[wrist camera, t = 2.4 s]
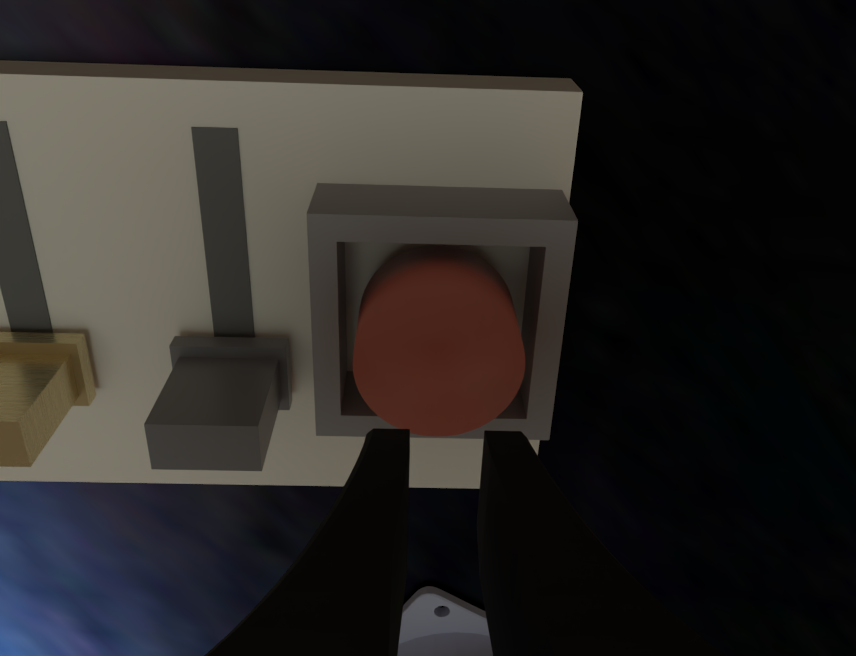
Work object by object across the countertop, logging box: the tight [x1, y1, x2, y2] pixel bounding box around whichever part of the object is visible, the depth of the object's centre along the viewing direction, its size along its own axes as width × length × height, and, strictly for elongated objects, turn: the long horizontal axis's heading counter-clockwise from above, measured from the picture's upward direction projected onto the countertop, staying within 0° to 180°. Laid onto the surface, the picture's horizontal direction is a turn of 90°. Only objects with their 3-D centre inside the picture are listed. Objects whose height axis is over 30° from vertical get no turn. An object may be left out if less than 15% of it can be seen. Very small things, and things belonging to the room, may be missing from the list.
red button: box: [353, 246, 525, 437], centre depth 17 cm, size 4×4×2 cm
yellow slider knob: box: [0, 332, 96, 467], centre depth 18 cm, size 3×2×3 cm, turn 88°
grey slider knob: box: [144, 336, 292, 471], centre depth 18 cm, size 3×2×3 cm, turn 88°
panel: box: [0, 60, 583, 489], centre depth 19 cm, size 16×11×4 cm
